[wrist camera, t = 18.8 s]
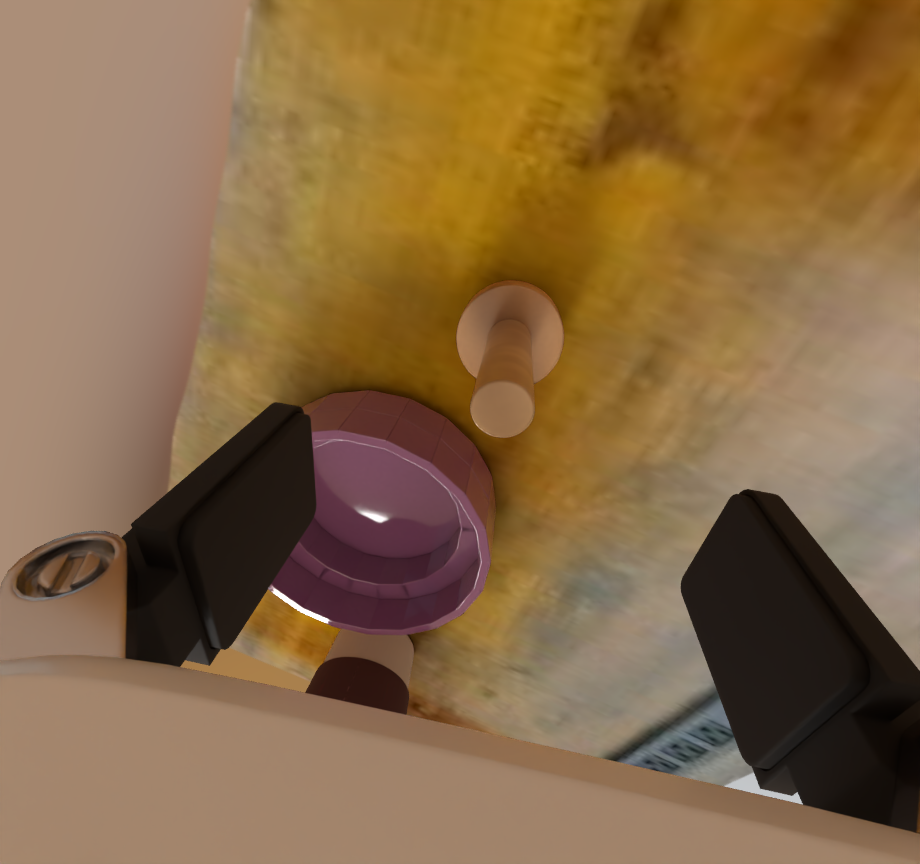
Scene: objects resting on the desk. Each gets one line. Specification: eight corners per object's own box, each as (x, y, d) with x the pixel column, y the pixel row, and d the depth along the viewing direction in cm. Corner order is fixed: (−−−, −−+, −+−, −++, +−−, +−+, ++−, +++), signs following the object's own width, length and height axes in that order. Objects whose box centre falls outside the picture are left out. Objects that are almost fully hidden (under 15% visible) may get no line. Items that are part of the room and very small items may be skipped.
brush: (539, 257, 22) (551, 303, 12) (572, 350, 24) (605, 450, 15) (447, 300, 24) (395, 369, 14) (485, 383, 26) (463, 492, 16)
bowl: (427, 345, 25) (402, 384, 20) (530, 540, 31) (532, 608, 26) (232, 436, 30) (171, 485, 25) (354, 587, 36) (325, 652, 31)
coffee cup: (448, 662, 40) (411, 888, 27) (365, 680, 43) (296, 888, 30) (392, 594, 36) (317, 816, 23) (305, 619, 40) (198, 825, 27)
